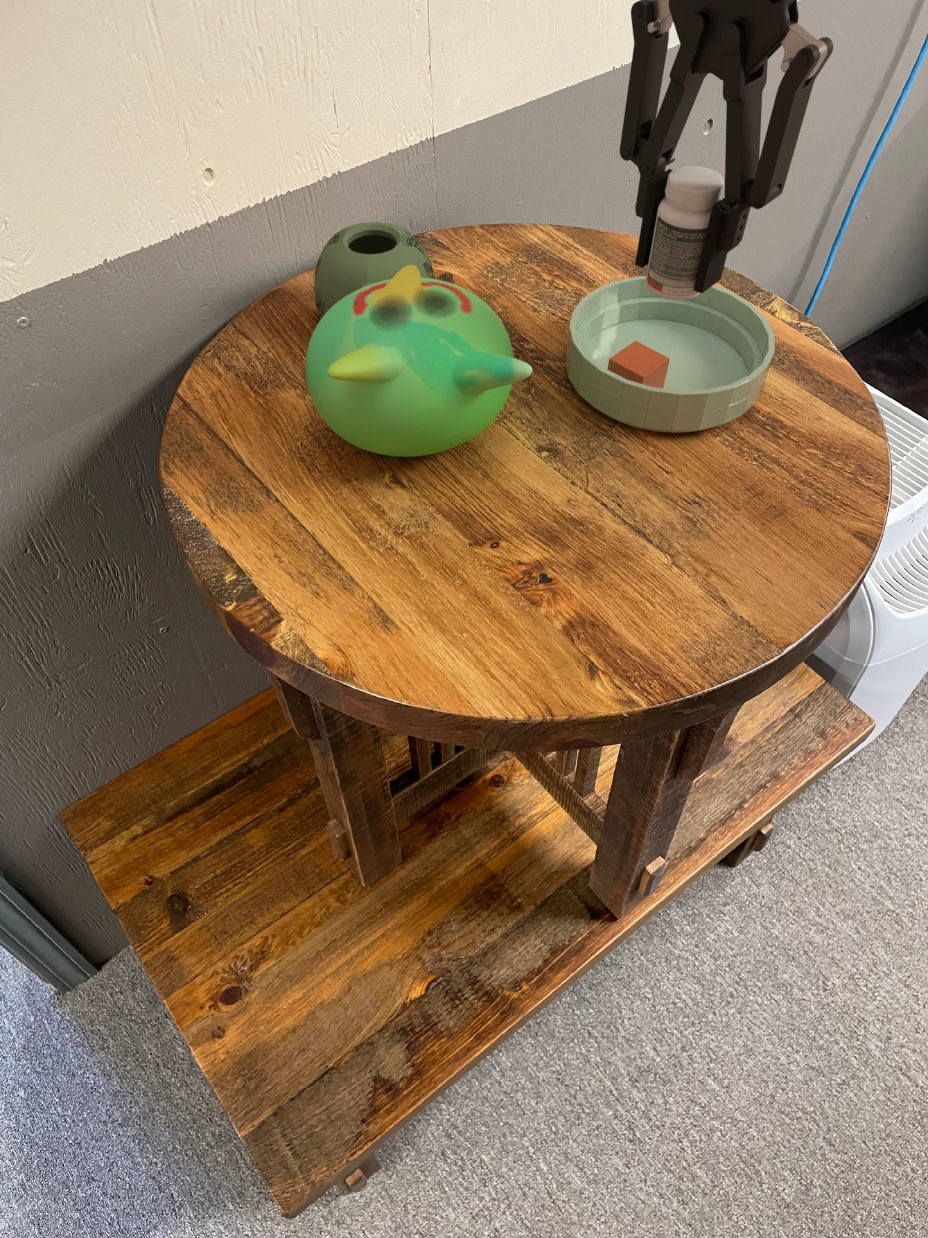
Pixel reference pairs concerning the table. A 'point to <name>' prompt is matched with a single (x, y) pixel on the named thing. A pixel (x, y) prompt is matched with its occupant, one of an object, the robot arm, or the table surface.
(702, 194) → the pill bottle
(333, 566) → the table surface
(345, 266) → the mug
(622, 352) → the block
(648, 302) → the bowl
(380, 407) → the toy bird
